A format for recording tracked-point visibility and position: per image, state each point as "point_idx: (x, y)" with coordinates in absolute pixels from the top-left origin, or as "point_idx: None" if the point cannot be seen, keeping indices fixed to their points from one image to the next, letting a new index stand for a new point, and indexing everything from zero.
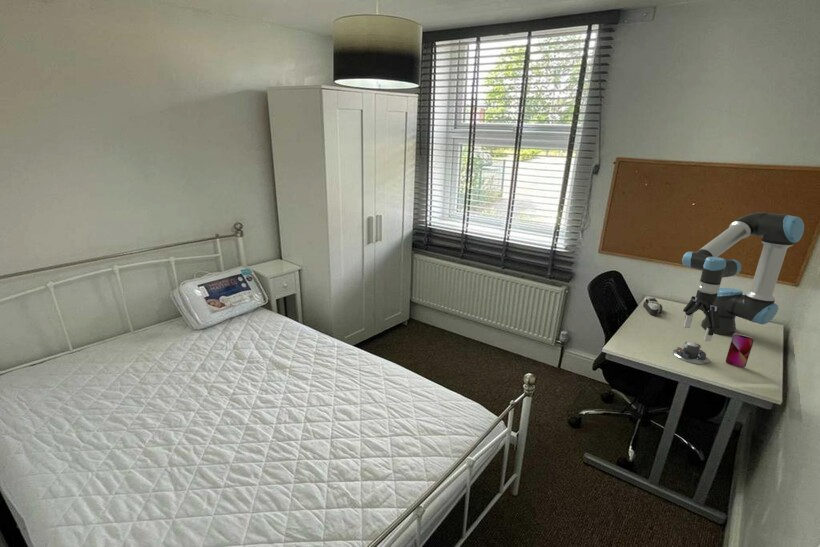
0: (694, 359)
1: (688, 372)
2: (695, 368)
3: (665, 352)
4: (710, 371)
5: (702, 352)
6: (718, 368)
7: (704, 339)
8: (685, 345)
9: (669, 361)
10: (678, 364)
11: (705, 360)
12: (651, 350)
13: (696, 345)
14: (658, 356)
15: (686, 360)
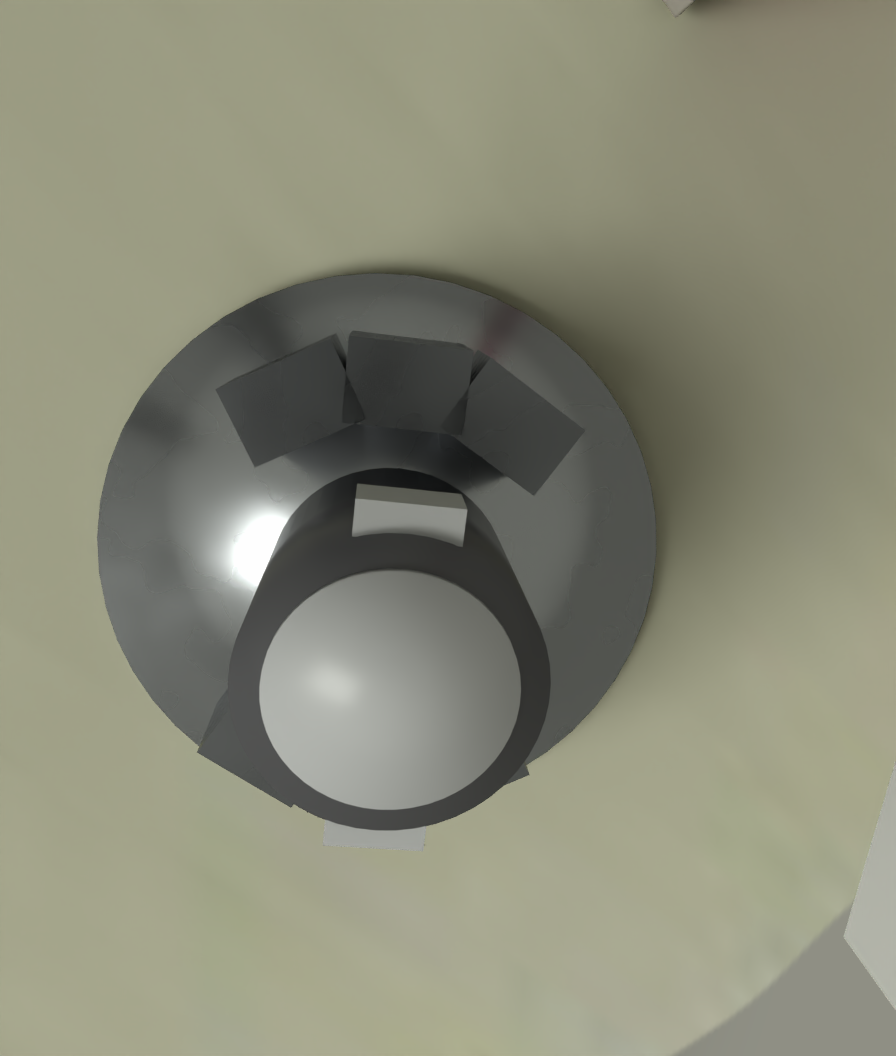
0: None
1: (811, 929)
2: (739, 757)
3: (213, 861)
4: (859, 597)
5: (458, 407)
6: (812, 375)
7: (894, 973)
8: (393, 845)
9: (499, 981)
10: (596, 916)
11: (573, 416)
12: (143, 1026)
13: (467, 655)
14: (342, 1038)
15: (531, 751)
